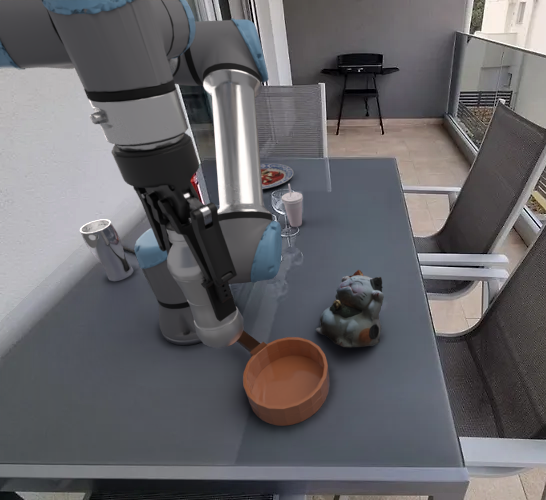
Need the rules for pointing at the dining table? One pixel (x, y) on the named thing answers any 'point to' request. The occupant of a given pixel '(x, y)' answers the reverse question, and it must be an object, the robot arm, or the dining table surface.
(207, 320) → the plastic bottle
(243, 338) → the pan handle
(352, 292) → the lucky cat figurine
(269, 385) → the pan
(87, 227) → the silver metal cup
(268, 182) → the ceramic plate
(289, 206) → the smoothie
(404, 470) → the dining table surface
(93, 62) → the robot arm
